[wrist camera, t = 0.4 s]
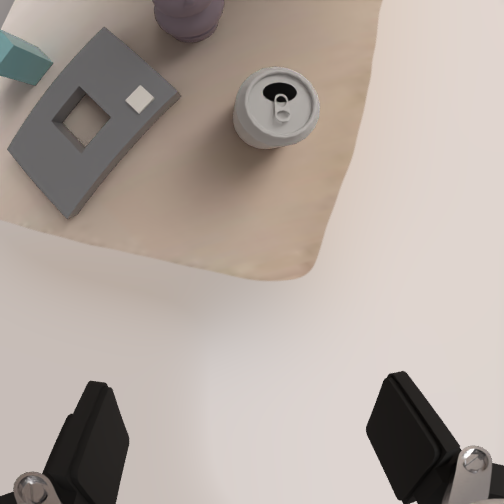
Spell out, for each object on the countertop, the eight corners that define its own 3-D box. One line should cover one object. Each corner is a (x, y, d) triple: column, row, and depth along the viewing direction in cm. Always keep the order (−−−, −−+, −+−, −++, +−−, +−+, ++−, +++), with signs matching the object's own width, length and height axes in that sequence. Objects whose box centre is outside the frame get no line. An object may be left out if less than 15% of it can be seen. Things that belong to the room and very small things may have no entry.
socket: (111, 34, 29) (102, 25, 26) (181, 96, 33) (177, 90, 29) (19, 148, 32) (4, 149, 28) (77, 214, 36) (65, 219, 32)
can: (292, 89, 34) (321, 61, 22) (297, 147, 36) (329, 144, 24) (230, 91, 33) (233, 62, 22) (235, 151, 35) (240, 148, 24)
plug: (37, 47, 27) (-1, 28, 18) (53, 63, 29) (13, 45, 19) (20, 68, 28) (-21, 55, 19) (35, 85, 29) (-7, 73, 20)
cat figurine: (162, -1, 28) (143, -49, 17) (223, -7, 29) (224, -58, 17) (160, 53, 31) (136, 14, 19) (224, 47, 31) (225, 3, 20)
